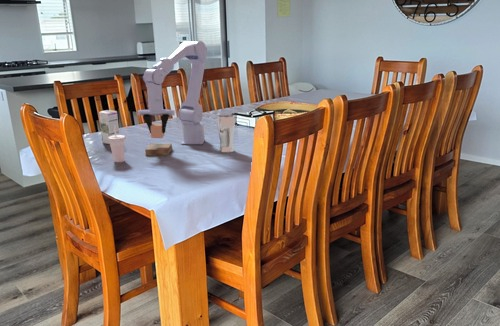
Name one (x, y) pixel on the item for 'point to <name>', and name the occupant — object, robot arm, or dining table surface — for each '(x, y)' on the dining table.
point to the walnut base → (158, 149)
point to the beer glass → (226, 132)
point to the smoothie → (117, 146)
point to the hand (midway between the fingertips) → (157, 132)
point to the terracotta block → (156, 130)
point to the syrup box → (108, 124)
